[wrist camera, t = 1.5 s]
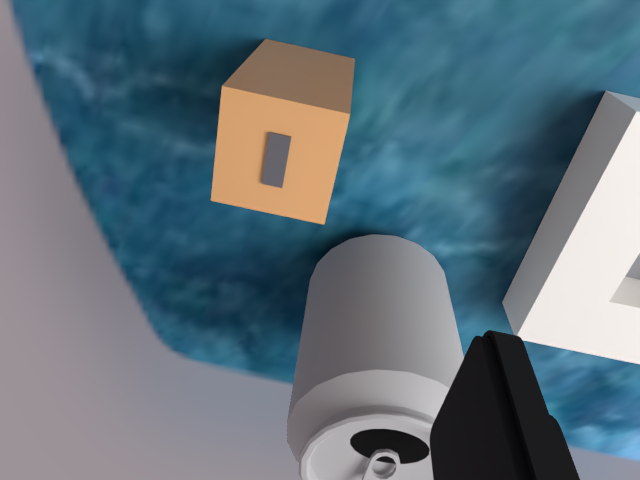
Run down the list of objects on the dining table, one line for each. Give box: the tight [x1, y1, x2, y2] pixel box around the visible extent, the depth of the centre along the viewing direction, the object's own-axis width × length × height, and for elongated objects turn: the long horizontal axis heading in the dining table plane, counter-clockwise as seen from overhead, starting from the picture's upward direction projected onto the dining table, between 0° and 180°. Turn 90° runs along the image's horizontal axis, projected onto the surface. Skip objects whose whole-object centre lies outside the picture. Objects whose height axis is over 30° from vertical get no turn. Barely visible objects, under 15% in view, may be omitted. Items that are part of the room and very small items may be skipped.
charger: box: [211, 39, 355, 225], centre depth 20 cm, size 4×4×8 cm
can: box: [287, 234, 464, 480], centre depth 24 cm, size 8×8×12 cm
